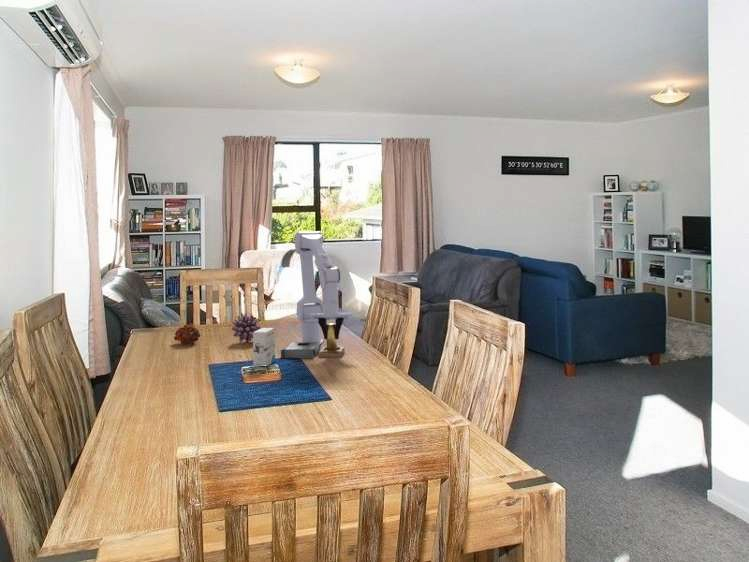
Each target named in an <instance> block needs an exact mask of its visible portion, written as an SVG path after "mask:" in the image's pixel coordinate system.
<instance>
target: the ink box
mask: <svg viewBox="0 0 749 562" xmlns="http://www.w3.org/2000/svg"><path fill="white" fill-rule="evenodd" d="M275 332H276V331H275V328H274V327H261V329H259V330H257V331H255V332H253V338H252V342H253V343H252V347H253V349H252V350H253V351H252V352H253V356H252V357H253V358H252V359H253V362H252V363H253V367H260V366H261V365H268V366H270V365H271V364H273V363H274V362H276V345H275V344H276V341H275V340H276V339H275V337H276V335H275ZM269 364H270V365H269Z"/></svg>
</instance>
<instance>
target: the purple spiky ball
mask: <svg viewBox="0 0 749 562" xmlns="http://www.w3.org/2000/svg"><path fill="white" fill-rule="evenodd" d="M236 318H237V319H236ZM236 318H235V319H233V320H234V321H232V324H233V325H234V326H231V330H232V331H234V334H232V335H233V338H235V337H236V338H238V337H239V339H238V340H239V341H240V342H243V340H245V341H246V343H249V342H251V341H252V339H253V332H255V331H257V330H259V329H261V328H262V326H260V325H258V322H259V320H260V318H254V315H253V314H252V313H250V314H249V315H247V313H246V312H245V313H244V314H243V313H242V314H241V316H240V315H237V317H236Z"/></svg>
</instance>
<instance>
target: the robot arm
mask: <svg viewBox="0 0 749 562" xmlns="http://www.w3.org/2000/svg"><path fill="white" fill-rule="evenodd" d="M323 243H324V236H323V233H322V232H321V231H320V230H317V231H315V230H314V231H296V232H295V235H294V248H295V249H294V250H295V253H296V254H298V255H299V259H300V269H301V280H302V294H303V296H302V297H301V298H300V299H299V300H298V301H297V303H296V317H297V319H298V322H299V321H300V322H301V342H319V346H320V345H321V344H322V343H323V342H324V340H327V336H326V324H328V322H327V321H328V320H334V321H335V324H336V339H337V340H339V339H340V331H341V328H342V326H343V323H344V321H345V320H347V319H348V320H352V312H340V311H339V310H340V309H339V283H340V282H341V271H340V269H339V267H338V266H336V265H334V264H333V262H332V260H331V258H330V256H329V255H328V254H326V253H325V251H324V248H323ZM314 264H315V267H316V269H317V271H318V273H319V274H318V277H319V278H318V280H319V283H320V289H321V295H322V297H321V298H322V299H321V298H320V297H318V296H317V294H316V285H315V284H316V283H315V282H316V281H315V280H316V279H315V269H314V268H315V267H314ZM344 319H345V320H344ZM321 333H322V334H323V338H324V339H322V334H321Z"/></svg>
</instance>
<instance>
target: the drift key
mask: <svg viewBox="0 0 749 562" xmlns="http://www.w3.org/2000/svg"><path fill="white" fill-rule="evenodd" d="M285 349H286V347H282V348H281V349H280V358H285Z"/></svg>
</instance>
